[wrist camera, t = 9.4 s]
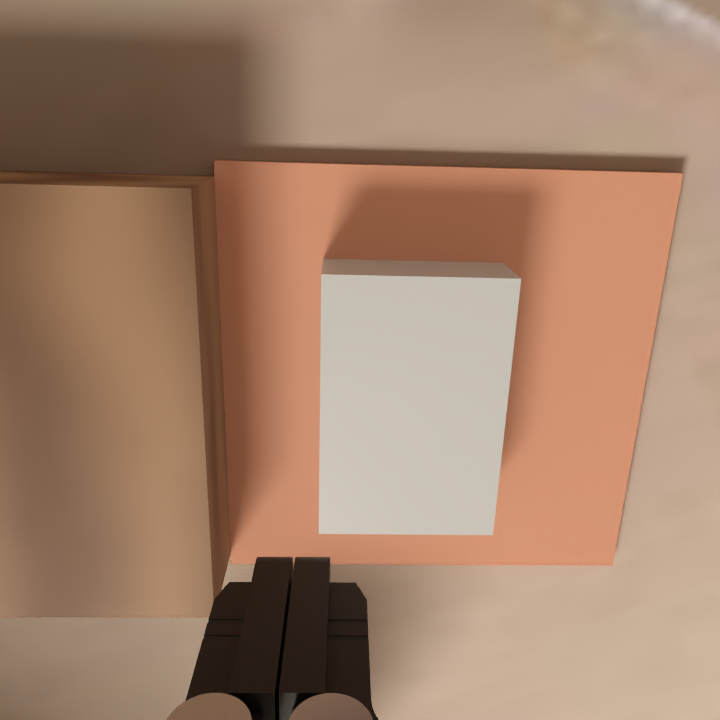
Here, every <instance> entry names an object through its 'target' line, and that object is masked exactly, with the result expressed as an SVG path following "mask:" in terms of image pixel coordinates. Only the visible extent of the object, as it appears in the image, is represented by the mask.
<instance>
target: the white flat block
mask: <svg viewBox="0 0 720 720" xmlns="http://www.w3.org/2000/svg"><path fill="white" fill-rule="evenodd" d="M520 286H521V278H520V277H519V276H518V275H516V274H515V273H514V272H513V271H512V270H511V269H510V268H508V267H507V266H506V265H505V264H504V263H491V262H447V261H404V260H360V259H323V263H322V272H321V350H320V452H319V534H401V535H493V531H494V522H495V513H496V504H497V495H498V486H499V477H500V467H501V458H502V449H503V440H504V431H505V422H506V413H507V404H508V395H509V386H510V377H511V368H512V358H513V349H514V340H515V331H516V322H517V313H518V304H519V295H520Z"/></svg>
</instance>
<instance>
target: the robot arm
mask: <svg viewBox="0 0 720 720" xmlns="http://www.w3.org/2000/svg"><path fill="white" fill-rule="evenodd" d="M167 720H378V718H377V717H376V715H375V713H374V711H373V708H372V703H371V689H370V666H369V642H368V619H367V600H366V598H365V597H364V595H363V593H362V592H361V590H360V589H359V587H358V586H357V584H356V583H330V557H295V562H294V570H293V557H257V558H256V562H255V567H254V572H253V577H252V581H251V582H229V583H228V584H227V585H226V587H225V588H224V589H223V590H222V591H221V592H220V593H219V594H218V596H217V597H216V598H215V599H214V602H213V605H212V609H211V612H210V616H209V622H208V623H207V627H206V630H205V634H204V639H203V641H202V644H201V648H200V652H199V655H198V659H197V662H196V666H195V669H194V673H193V676H192V680H191V684H190V687H189V691H188V694H187V698H186V701H185V702H183V703H182V704H181V705H179V706H178V707H177V708H176V709H175V710H174V711H173V712H172V713H171V714H170V716H169V717H168V718H167Z"/></svg>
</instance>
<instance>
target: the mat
mask: <svg viewBox="0 0 720 720" xmlns="http://www.w3.org/2000/svg"><path fill="white" fill-rule="evenodd" d="M682 177H683V173H676V172H639V171H601V170H564V169H526V168H489V167H451V166H413V165H376V164H338V163H301V162H263V161H226V160H215V161H214V179H215V202H216V226H217V249H218V272H219V295H220V319H221V342H222V365H223V389H224V412H225V435H226V459H227V482H228V505H229V529H230V552H231V564H255V562H256V558H257V557H293V564H294V562H295V557H330V564H410V565H609V566H613V560H614V554H615V549H616V543H617V538H618V532H619V527H620V521H621V516H622V510H623V505H624V499H625V493H626V488H627V482H628V477H629V471H630V466H631V460H632V455H633V449H634V444H635V438H636V432H637V427H638V421H639V416H640V410H641V405H642V399H643V394H644V388H645V383H646V377H647V371H648V366H649V360H650V355H651V349H652V344H653V338H654V333H655V327H656V322H657V316H658V310H659V305H660V299H661V294H662V288H663V283H664V277H665V272H666V266H667V261H668V255H669V249H670V244H671V238H672V233H673V227H674V222H675V216H676V211H677V205H678V200H679V194H680V188H681V183H682ZM323 259H360V260H404V261H447V262H491V263H504V264H505V265H506V266H507V267H508V268H510V269H511V270H512V271H513V272H514V273H515V274H516V275H518V276H519V277H520V278H521V286H520V295H519V304H518V313H517V322H516V331H515V340H514V349H513V358H512V368H511V377H510V386H509V395H508V404H507V413H506V422H505V431H504V440H503V449H502V458H501V467H500V477H499V486H498V495H497V504H496V513H495V522H494V531H493V535H401V534H319V452H320V350H321V272H322V263H323Z"/></svg>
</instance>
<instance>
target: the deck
mask: <svg viewBox="0 0 720 720" xmlns="http://www.w3.org/2000/svg"><path fill="white" fill-rule="evenodd" d="M230 553H231V552H230V529H229V505H228V482H227V459H226V435H225V412H224V389H223V365H222V342H221V319H220V295H219V272H218V249H217V226H216V202H215V179H214V176H181V175H143V174H104V173H65V172H26V171H0V617H209V616H210V612H211V609H212V605H213V602H214V599H215V598H216V597H217V596H218V594H219V593H220V592H221V589H222V585H223V581H224V577H225V573H226V569H227V565H228V561H229V557H230Z"/></svg>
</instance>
